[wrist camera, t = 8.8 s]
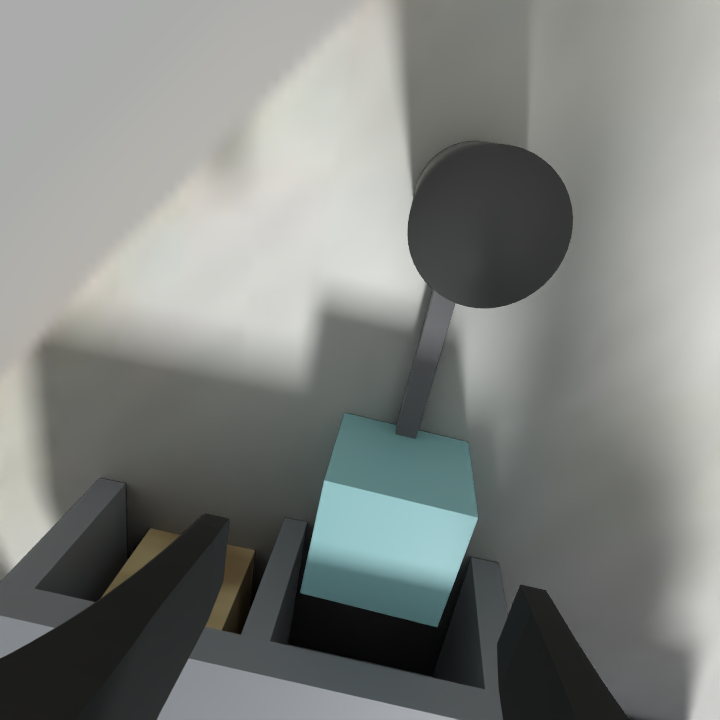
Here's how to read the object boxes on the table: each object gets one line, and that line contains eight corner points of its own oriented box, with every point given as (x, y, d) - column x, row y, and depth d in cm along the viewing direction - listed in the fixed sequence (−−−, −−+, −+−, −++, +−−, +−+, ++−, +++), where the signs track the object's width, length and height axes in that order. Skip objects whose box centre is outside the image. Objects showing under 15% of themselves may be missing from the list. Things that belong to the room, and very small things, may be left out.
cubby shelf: (499, 563, 23) (527, 735, 16) (450, 697, 27) (458, 882, 20) (99, 477, 24) (-27, 609, 17) (106, 619, 27) (3, 773, 21)
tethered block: (564, 159, 17) (631, 172, 11) (435, 538, 23) (438, 666, 17) (408, 125, 17) (397, 120, 11) (323, 511, 23) (289, 628, 18)
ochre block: (255, 548, 24) (221, 631, 20) (248, 624, 26) (215, 715, 22) (151, 526, 25) (95, 605, 21) (152, 604, 27) (101, 689, 23)
